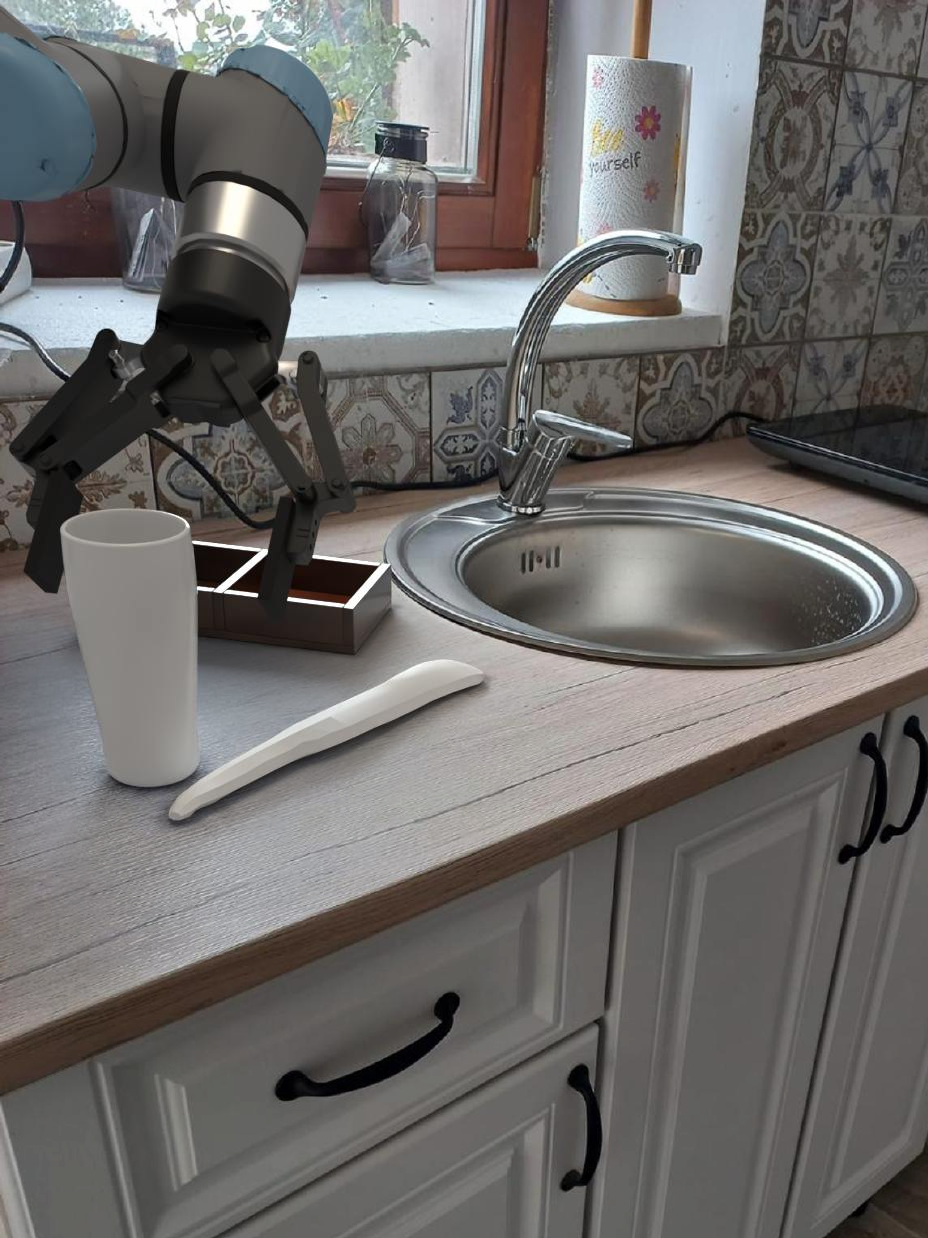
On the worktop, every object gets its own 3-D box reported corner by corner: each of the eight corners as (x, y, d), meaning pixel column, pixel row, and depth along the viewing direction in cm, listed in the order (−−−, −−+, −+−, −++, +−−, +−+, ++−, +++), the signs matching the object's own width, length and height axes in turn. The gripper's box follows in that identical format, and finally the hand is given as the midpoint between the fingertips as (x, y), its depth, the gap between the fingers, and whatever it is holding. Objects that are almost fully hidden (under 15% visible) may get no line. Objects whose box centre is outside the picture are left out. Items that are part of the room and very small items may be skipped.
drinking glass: (146, 809, 71) (115, 554, 63) (68, 772, 73) (30, 523, 66) (237, 767, 76) (218, 527, 68) (161, 734, 79) (134, 500, 71)
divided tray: (88, 622, 93) (82, 575, 91) (149, 577, 102) (144, 534, 100) (354, 654, 92) (353, 608, 90) (391, 606, 101) (391, 564, 99)
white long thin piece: (190, 828, 69) (182, 787, 68) (139, 813, 71) (131, 774, 70) (490, 685, 90) (488, 653, 89) (445, 677, 92) (442, 646, 91)
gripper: (438, 344, 80) (380, 647, 74) (63, 304, 81) (-22, 600, 76) (419, 263, 73) (352, 592, 67) (7, 220, 74) (-91, 540, 68)
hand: (154, 597), depth 71 cm, fingers open, 13 cm apart
